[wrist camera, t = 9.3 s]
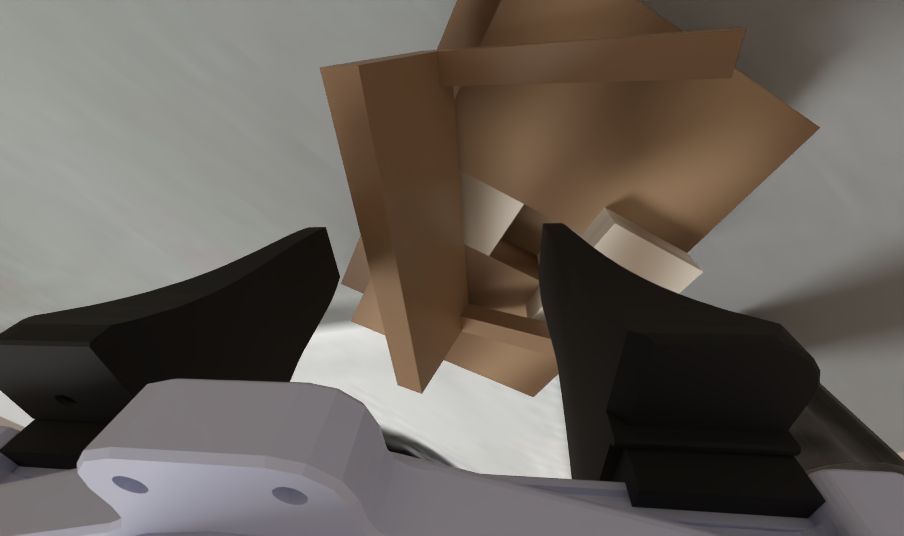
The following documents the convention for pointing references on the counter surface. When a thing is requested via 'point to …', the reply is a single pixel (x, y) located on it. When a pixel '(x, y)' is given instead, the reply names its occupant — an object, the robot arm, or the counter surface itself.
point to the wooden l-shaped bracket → (437, 170)
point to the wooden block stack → (589, 168)
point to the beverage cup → (839, 439)
